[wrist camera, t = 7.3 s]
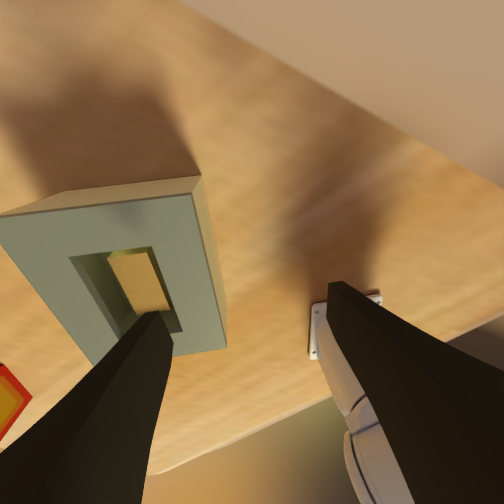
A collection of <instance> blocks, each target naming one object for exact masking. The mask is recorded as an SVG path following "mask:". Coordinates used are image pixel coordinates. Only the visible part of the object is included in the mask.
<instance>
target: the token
mask: <svg viewBox="0 0 504 504" xmlns="http://www.w3.org/2000/svg"><path fill="white" fill-rule="evenodd" d="M107 260H108V262H109V264H110V266H111V267H112V269H113V271H114V273H115V275H116V277H117V279H118V281H119V283H120V284H121V286H122V288H123V290H124V292H125V294H126V296H127V298H128V299H129V301H130V303H131V305H132V307H133V309H134V311H135V313H136V315H142V314H144V313H145V312H151V311H157V310H159V311H160V312H161V311H167V310H171V307H172V304H173V303H172V300H171V297H170V295H169V292H168V289H167V286H166V284H165V281H164V278H163V276H162V273H161V270H160V268H159V265H158V262H157V259H156V257H155V254H154V251H153V249H152V246H147V247H139V248H132V249H124V250H116V251H113V252H112V254H111V255H110V256H109V257H108V258H107Z"/></svg>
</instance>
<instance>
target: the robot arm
mask: <svg viewBox="0 0 504 504" xmlns="http://www.w3.org/2000/svg"><path fill="white" fill-rule="evenodd" d="M382 300H383V297H382V296H381V295H380V294H375V295H369V296H365V295H363V294H362V293H360V292H359V291H357V290H356V289H354V288H353V287H351V286H350V285H348V284H347V283H345V282H343V281H339V282H333V283H328V296H327V302H322V303H316V304H314V305H313V306H312V311H311V328H310V345H309V358H310V359H311V360H314V359H318V361H319V363H320V366H321V368H322V370H323V373H324V375H325V378H326V380H327V383H328V385H329V387H330V390H331V392H332V395H333V397H334V400H335V402H336V404H337V406H338V408H339V410H340V411H341V413H342V414H343V415H344V416H345V417H344V418H345V421H346V423H347V425H348V428H349V431H347V432H346V433H345V435H344V457H345V462H346V466H347V470H348V473H349V476H350V479H351V481H352V484H353V487H354V489H355V492H356V494H357V496H358V498H359V500H360V503H361V504H504V371H502V370H500V369H498V368H496V367H494V366H491V365H489V364H487V363H485V362H483V361H480V360H478V359H476V358H474V357H472V356H470V355H468V354H466V353H464V352H462V351H460V350H458V349H456V348H454V347H452V346H450V345H448V344H446V343H444V342H442V341H440V340H438V339H437V338H435V337H433V336H431V335H429V334H427V333H425V332H424V331H422V330H420V329H418V328H417V327H415V326H413V325H411V324H410V323H408V322H406V321H405V320H403V319H401V318H400V317H398V316H396V315H395V314H393V313H391V312H390V311H388V310H387V309H385V308H383V307H382V306H381V304H382ZM315 311H316V312H315ZM173 345H174V342H173V340H172V338H171V335H170V333H169V331H168V329H167V326H166V324H165V322H164V320H163V317H162V315H161V313H160V311H159V310H157V311H151V312H145V313H144V314H143V315H142V316H141V317H140V318H139V319H138V320H137V321H136V322H135V323H134V324H133V325H132V326H131V328H130V329H129V330H128V331H127V332H126V333H125V334H124V335H123V336H122V337H121V339H120V340H119V341H118V342H117V343H116V344H115V345H114V346H113V347H112V348H111V349H110V350H109V352H108V353H107V354H106V355H105V356H104V357H103V358H102V359H101V360H100V361H99V362H98V363H97V364H96V365H95V366H94V367H93V368H92V369H91V370H90V371H89V372H88V373H87V374H86V375H85V376H84V377H83V378H82V379H81V381H80V382H79V383H78V384H77V385H76V386H75V387H74V388H73V389H72V390H71V391H70V392H69V393H68V394H66V395H65V396H64V397H63V398H62V399H61V400H60V401H59V402H58V403H57V404H56V405H55V406H54V407H53V408H52V409H51V410H49V411H48V412H47V413H46V414H45V415H44V416H43V417H42V418H41V419H40V420H38V421H37V422H36V423H35V424H34V425H33V426H32V427H31V428H30V429H28V430H27V431H26V432H25V433H24V434H23V435H22V436H20V437H19V438H18V439H17V440H16V441H14V442H13V443H12V444H11V445H10V446H8V447H7V448H6V449H5V450H4V451H3V452H1V453H0V504H141V501H142V495H143V489H144V482H145V477H146V471H147V465H148V459H149V454H150V448H151V443H152V439H153V434H154V430H155V426H156V422H157V419H158V415H159V411H160V407H161V403H162V399H163V395H164V392H165V388H166V384H167V380H168V376H169V372H170V368H171V361H172V354H173Z"/></svg>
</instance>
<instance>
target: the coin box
mask: <svg viewBox="0 0 504 504" xmlns="http://www.w3.org/2000/svg"><path fill="white" fill-rule="evenodd" d="M0 244H1V246H2V247H3V248H4V250H5V251H6V252H7V254H8V255H9V256H10V257H11V259H12V260H13V261H14V263H15V264H16V265H17V267H18V268H19V269H20V271H21V272H22V273H23V275H24V276H25V277H26V278H27V280H28V281H29V282H30V284H31V285H32V286H33V288H34V289H35V290H36V292H37V293H38V294H39V295H40V297H41V298H42V299H43V301H44V302H45V303H46V305H47V306H48V307H49V309H50V310H51V311H52V313H53V314H54V315H55V316H56V318H57V319H58V320H59V322H60V323H61V324H62V326H63V327H64V328H65V330H66V331H67V332H68V334H69V335H70V336H71V337H72V339H73V340H74V341H75V343H76V344H77V345H78V347H79V348H80V349H81V351H82V352H83V353H84V354H85V356H86V357H87V358H88V360H89V361H90V362H91V364H92V365H93V366H95V365H96V364H97V363H98V362H99V361H100V360H101V359H102V358H103V357H104V356H105V355H106V354H107V353H108V352H109V350H110V349H111V348H112V347H113V346H114V345H115V344H116V343H117V342H118V341H119V340H120V339H121V337H122V336H123V335H124V334H125V333H126V332H127V331H128V330H129V329H130V328H131V326H132V325H133V324H134V323H135V322H136V321H137V320H138V319H139V318H140V317H141V316H142V315H143V314H142V315H136V313H135V311H134V309H133V307H132V305H131V303H130V301H129V299H128V298H127V296H126V294H125V292H124V290H123V288H122V286H121V284H120V283H119V281H118V279H117V277H116V275H115V273H114V271H113V269H112V267H111V266H110V264H109V262H108V260H107V258H108V257H109V256H110V255H111V254H112V252H113V251H116V250H124V249H132V248H139V247H147V246H152V249H153V251H154V254H155V257H156V259H157V262H158V265H159V268H160V270H161V273H162V276H163V278H164V281H165V284H166V286H167V289H168V292H169V295H170V297H171V300H172V303H173V304H172V307H171V310H167V311H161V312H160V313H161V315H162V317H163V320H164V322H165V324H166V326H167V329H168V331H169V333H170V335H171V338H172V340H173V342H174V345H173V354H172V357H174V356H181V355H187V354H193V353H200V352H206V351H212V350H219V349H225V348H227V300H226V292H225V287H224V282H223V277H222V272H221V267H220V262H219V257H218V252H217V247H216V242H215V238H214V233H213V228H212V223H211V218H210V213H209V208H208V203H207V198H206V193H205V188H204V183H203V178H202V175H198V176H189V177H181V178H173V179H164V180H156V181H147V182H139V183H130V184H122V185H113V186H105V187H96V188H88V189H79V190H71V191H63V192H61V193H58V194H55V195H52V196H49V197H47V198H44V199H41V200H38V201H35V202H32V203H30V204H27V205H24V206H21V207H18V208H16V209H13V210H10V211H7V212H4V213H1V214H0Z"/></svg>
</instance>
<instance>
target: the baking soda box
mask: <svg viewBox="0 0 504 504" xmlns="http://www.w3.org/2000/svg"><path fill="white" fill-rule="evenodd" d="M31 399H32V396H31V394H30V393H29V392H28V391H27V390H26V389H25V388H24V386H23V385H22V384H21V383H20V382H19V381H18V380H17V378H16V377H15V376H14V375H13V374H12V373H11V372H10V371H9V369H8V368H7V367H6V366H5V365H4V364H0V441H1V440H2V438H3V437H4V436H5V434H6V433H7V432H8V430H9V429H10V428H11V426H12V425H13V423H14V422H15V421H16V419H17V418H18V417H19V415H20V414H21V413H22V411H23V410H24V408H25V407H26V406H27V404H28V403H29V402H30V400H31Z"/></svg>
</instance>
